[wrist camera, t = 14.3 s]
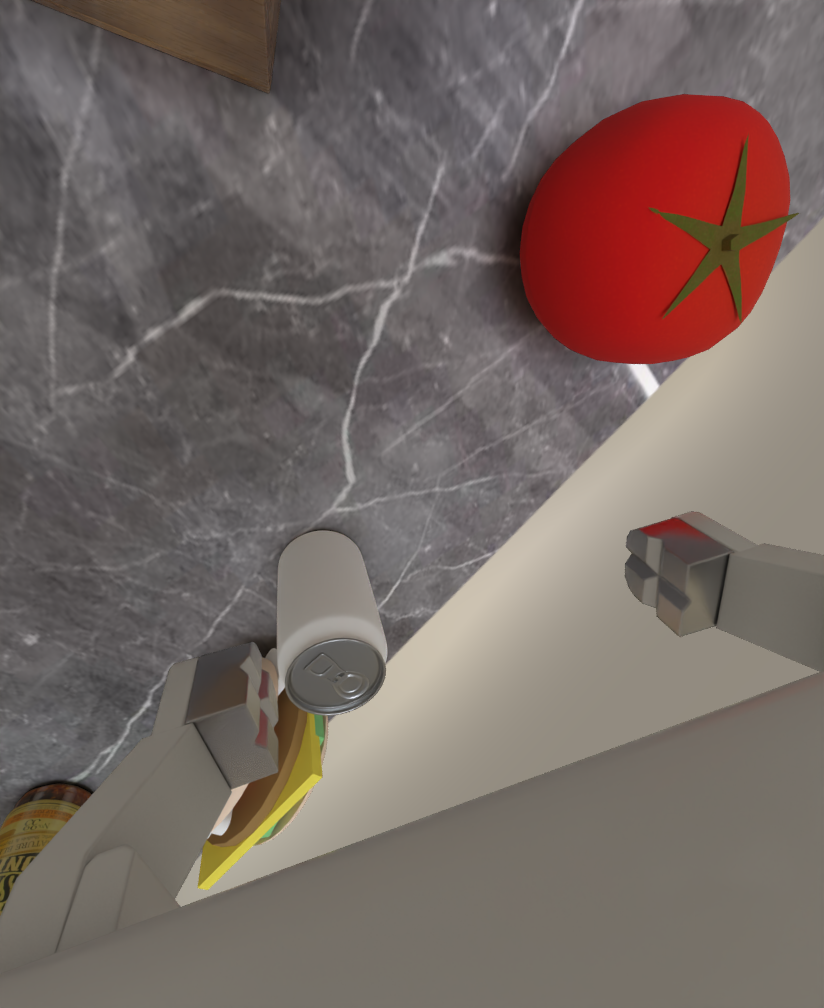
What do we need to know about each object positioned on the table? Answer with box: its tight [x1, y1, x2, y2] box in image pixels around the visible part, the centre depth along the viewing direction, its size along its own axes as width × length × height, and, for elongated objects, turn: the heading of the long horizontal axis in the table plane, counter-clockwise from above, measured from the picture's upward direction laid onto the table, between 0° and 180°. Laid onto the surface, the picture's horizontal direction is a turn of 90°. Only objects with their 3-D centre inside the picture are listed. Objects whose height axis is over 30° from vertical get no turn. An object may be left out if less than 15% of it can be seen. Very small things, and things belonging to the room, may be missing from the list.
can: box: [277, 530, 387, 716], centre depth 32 cm, size 6×6×12 cm
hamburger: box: [198, 648, 328, 890], centre depth 35 cm, size 12×8×12 cm
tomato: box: [520, 94, 799, 364], centre depth 27 cm, size 13×14×12 cm
